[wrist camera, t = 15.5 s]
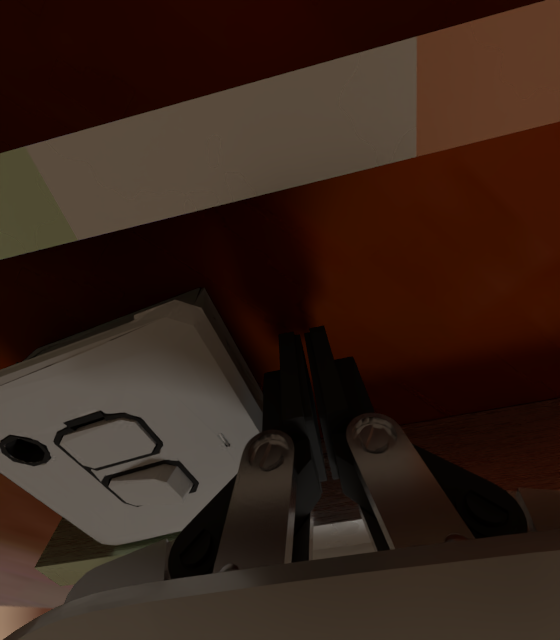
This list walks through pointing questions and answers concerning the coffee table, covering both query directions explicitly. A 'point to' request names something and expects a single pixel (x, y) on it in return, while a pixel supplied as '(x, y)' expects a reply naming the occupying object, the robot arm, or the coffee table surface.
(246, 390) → the electrical switch
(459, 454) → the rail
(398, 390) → the coffee table surface
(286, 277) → the coffee table surface
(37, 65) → the coffee table surface
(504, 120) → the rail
